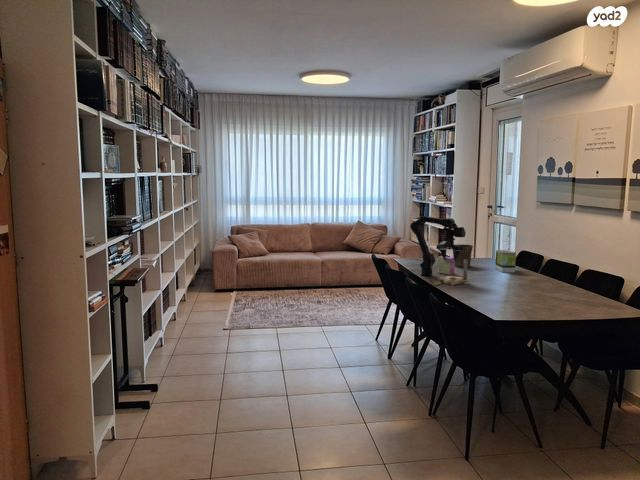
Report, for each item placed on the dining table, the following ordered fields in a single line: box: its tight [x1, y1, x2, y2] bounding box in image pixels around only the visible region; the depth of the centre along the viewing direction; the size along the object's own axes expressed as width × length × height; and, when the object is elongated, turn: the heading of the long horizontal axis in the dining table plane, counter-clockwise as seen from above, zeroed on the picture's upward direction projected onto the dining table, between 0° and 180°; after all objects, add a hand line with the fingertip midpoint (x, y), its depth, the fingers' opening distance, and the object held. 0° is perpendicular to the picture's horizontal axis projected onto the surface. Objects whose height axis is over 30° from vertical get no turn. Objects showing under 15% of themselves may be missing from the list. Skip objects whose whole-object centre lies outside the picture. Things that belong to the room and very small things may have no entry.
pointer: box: [433, 280, 442, 286], centre depth 318 cm, size 5×2×2 cm, turn 118°
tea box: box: [494, 249, 517, 273], centre depth 363 cm, size 15×10×15 cm
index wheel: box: [436, 259, 469, 286], centre depth 323 cm, size 19×21×15 cm
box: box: [437, 255, 455, 276], centre depth 354 cm, size 10×6×12 cm, turn 40°
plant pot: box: [451, 243, 474, 268], centre depth 382 cm, size 16×16×16 cm
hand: (449, 260), depth 333 cm, fingers open, 9 cm apart
